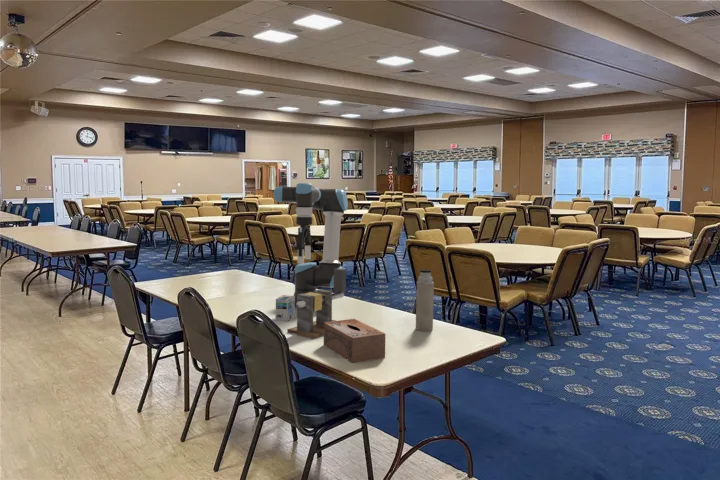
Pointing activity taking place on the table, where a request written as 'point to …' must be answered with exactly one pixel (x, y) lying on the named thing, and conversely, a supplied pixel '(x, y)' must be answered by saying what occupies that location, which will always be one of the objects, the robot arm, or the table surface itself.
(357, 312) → the table surface
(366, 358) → the tissue box cover
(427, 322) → the thermos bottle
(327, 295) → the shaft stand
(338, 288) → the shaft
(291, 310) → the light bulb box
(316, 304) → the block
